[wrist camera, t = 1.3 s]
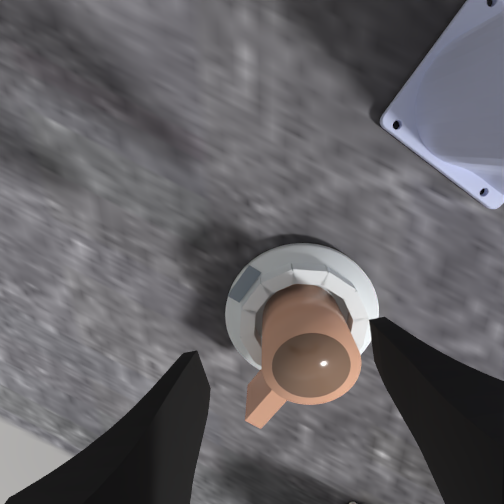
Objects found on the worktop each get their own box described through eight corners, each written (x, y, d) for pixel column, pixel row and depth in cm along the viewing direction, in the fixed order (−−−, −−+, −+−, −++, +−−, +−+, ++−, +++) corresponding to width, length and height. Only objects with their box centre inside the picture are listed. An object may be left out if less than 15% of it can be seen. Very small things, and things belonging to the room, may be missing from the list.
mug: (292, 268, 20) (300, 306, 16) (356, 310, 21) (382, 357, 17) (224, 356, 23) (214, 411, 18) (284, 389, 24) (289, 450, 19)
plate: (407, 295, 22) (420, 310, 20) (314, 393, 25) (318, 413, 23) (281, 212, 20) (283, 219, 18) (199, 328, 23) (194, 344, 21)
